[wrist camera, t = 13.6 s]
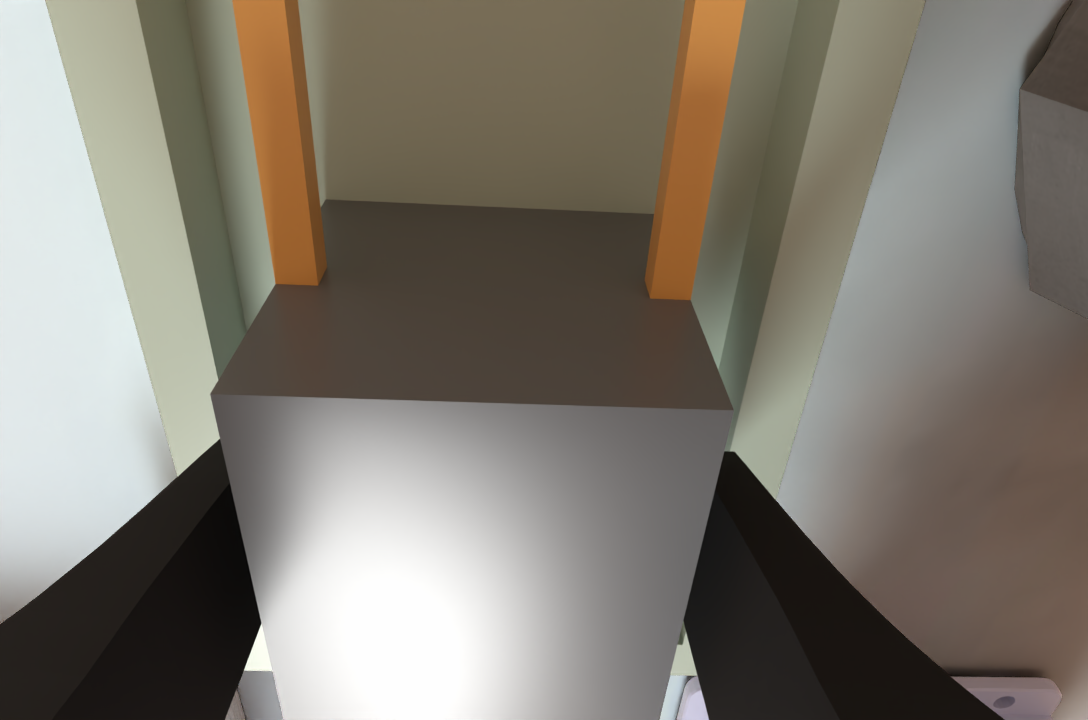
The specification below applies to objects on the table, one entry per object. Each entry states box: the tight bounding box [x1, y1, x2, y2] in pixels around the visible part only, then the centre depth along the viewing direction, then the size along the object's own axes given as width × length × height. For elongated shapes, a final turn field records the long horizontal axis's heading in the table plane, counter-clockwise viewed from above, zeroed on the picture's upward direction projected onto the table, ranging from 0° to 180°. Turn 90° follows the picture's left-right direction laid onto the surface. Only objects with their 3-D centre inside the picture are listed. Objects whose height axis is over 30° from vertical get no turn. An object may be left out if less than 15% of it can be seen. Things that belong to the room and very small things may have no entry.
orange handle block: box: [210, 0, 746, 720], centre depth 10 cm, size 5×12×5 cm, turn 177°
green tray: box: [45, 0, 926, 676], centre depth 12 cm, size 10×17×2 cm, turn 177°
